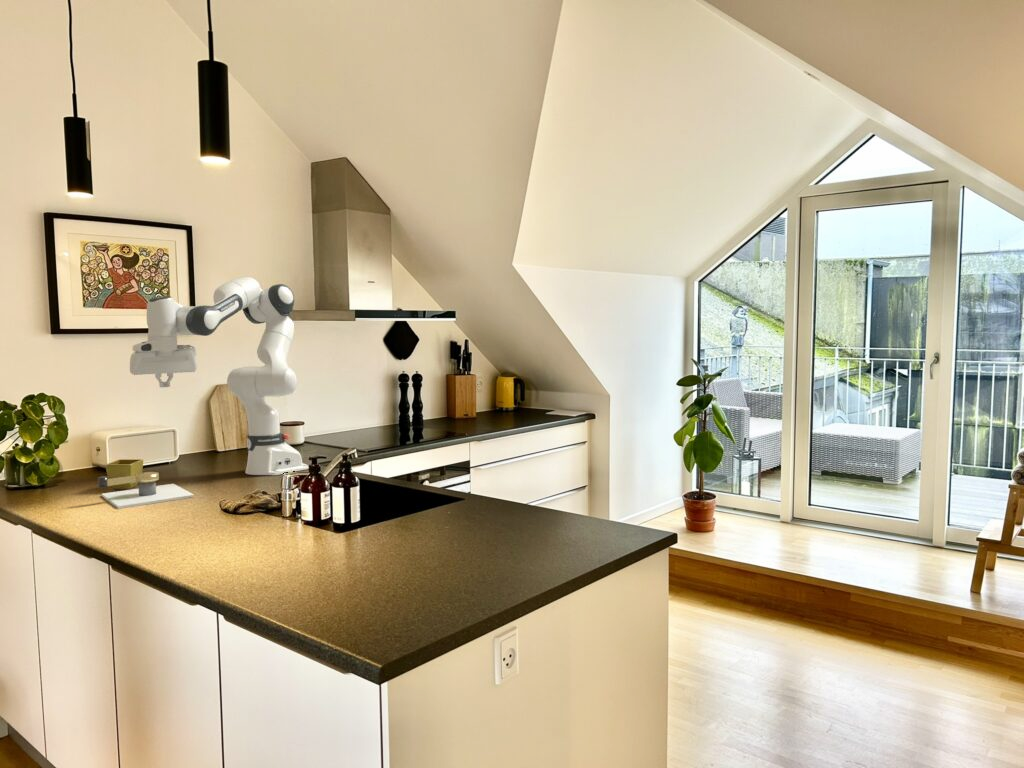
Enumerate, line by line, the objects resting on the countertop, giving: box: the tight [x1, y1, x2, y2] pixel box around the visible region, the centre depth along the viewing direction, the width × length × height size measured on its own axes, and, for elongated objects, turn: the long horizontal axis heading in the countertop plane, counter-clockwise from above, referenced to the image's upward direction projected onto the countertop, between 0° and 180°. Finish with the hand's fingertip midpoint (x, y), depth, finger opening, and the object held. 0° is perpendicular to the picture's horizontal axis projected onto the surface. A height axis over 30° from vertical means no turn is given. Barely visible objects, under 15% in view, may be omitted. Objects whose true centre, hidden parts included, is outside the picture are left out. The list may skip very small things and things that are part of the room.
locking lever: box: [97, 471, 160, 488], centre depth 239 cm, size 17×7×3 cm, turn 130°
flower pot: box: [104, 458, 144, 490], centre depth 255 cm, size 9×9×9 cm
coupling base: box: [101, 481, 195, 510], centre depth 242 cm, size 22×22×5 cm
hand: (164, 387), depth 251 cm, fingers closed
